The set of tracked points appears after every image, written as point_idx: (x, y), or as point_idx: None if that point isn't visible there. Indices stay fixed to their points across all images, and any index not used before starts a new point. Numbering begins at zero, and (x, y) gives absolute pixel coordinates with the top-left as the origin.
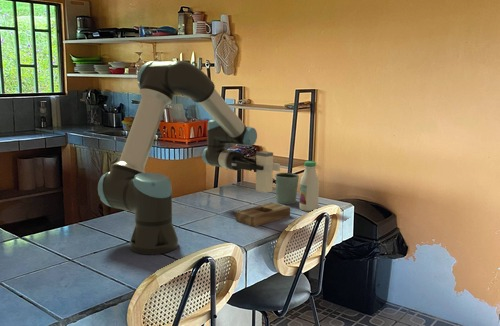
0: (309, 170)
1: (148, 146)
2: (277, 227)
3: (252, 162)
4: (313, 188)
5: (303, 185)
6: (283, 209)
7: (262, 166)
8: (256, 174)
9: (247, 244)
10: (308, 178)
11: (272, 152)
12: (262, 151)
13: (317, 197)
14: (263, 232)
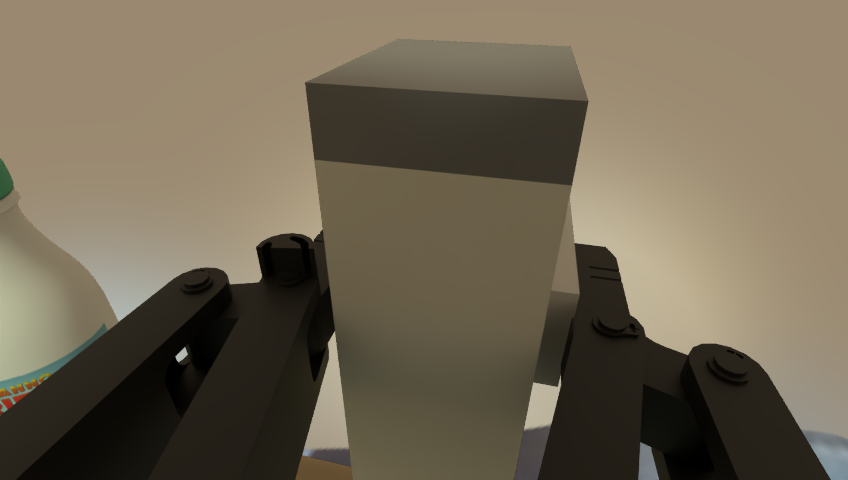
0: (23, 223)
1: None
2: (531, 448)
3: (551, 430)
4: (112, 309)
5: (84, 344)
6: (349, 467)
7: (590, 245)
8: (513, 473)
9: (840, 447)
10: (73, 275)
11: (400, 40)
12: (397, 79)
13: None
14: (655, 469)
